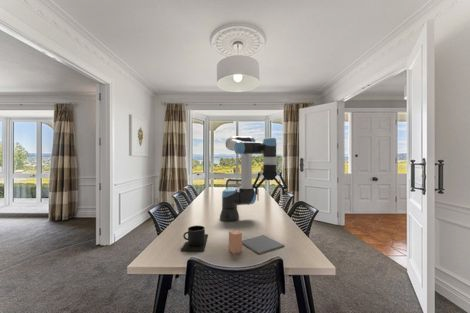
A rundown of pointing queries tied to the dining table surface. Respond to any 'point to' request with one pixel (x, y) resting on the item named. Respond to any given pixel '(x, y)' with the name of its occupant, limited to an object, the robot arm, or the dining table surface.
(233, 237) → the block
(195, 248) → the black flat plate
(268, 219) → the dining table surface
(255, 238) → the mat
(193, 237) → the mug
